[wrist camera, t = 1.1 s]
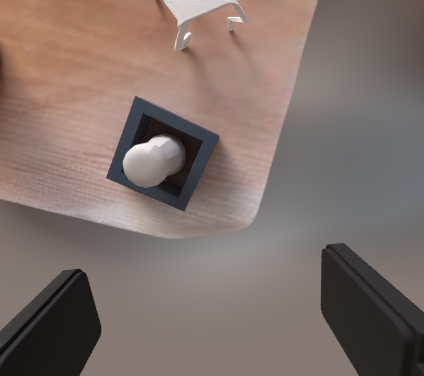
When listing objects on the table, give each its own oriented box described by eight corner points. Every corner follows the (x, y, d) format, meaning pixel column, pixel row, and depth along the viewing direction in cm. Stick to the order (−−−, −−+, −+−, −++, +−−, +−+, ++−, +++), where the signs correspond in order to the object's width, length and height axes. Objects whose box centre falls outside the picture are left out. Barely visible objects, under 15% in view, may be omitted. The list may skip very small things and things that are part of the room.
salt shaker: (194, 162, 34) (184, 183, 22) (160, 178, 35) (132, 207, 22) (176, 126, 33) (154, 124, 20) (141, 143, 33) (99, 152, 21)
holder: (120, 171, 34) (106, 178, 30) (146, 100, 32) (135, 95, 27) (187, 200, 36) (184, 211, 31) (218, 134, 33) (219, 135, 28)
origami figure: (155, 58, 31) (145, 45, 26) (147, -16, 29) (134, -45, 24) (245, 52, 30) (251, 38, 26) (243, -23, 28) (250, -54, 24)
